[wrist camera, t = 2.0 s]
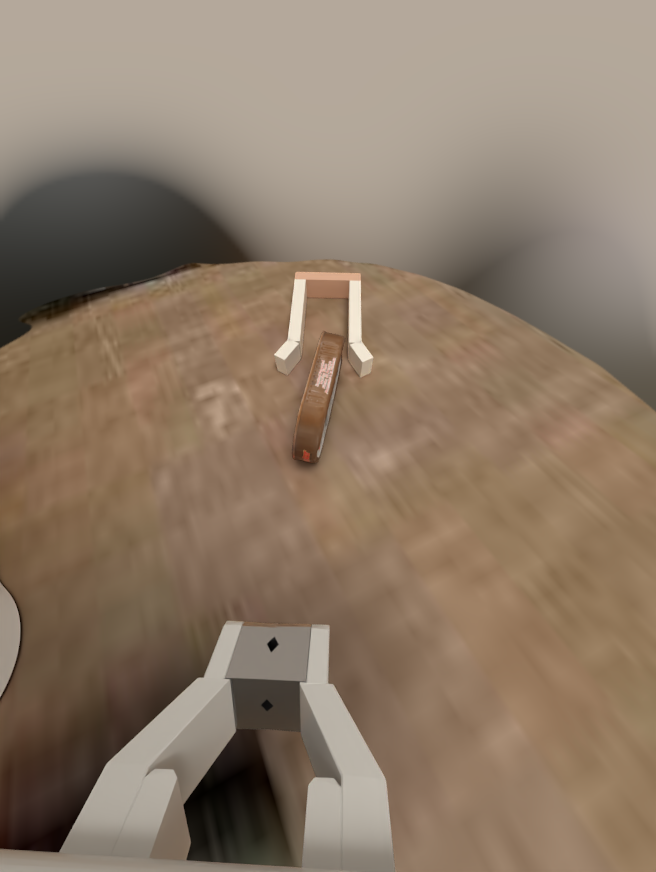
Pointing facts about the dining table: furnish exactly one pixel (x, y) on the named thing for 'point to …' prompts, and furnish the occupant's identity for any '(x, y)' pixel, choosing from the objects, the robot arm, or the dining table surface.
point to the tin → (318, 398)
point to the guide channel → (303, 289)
